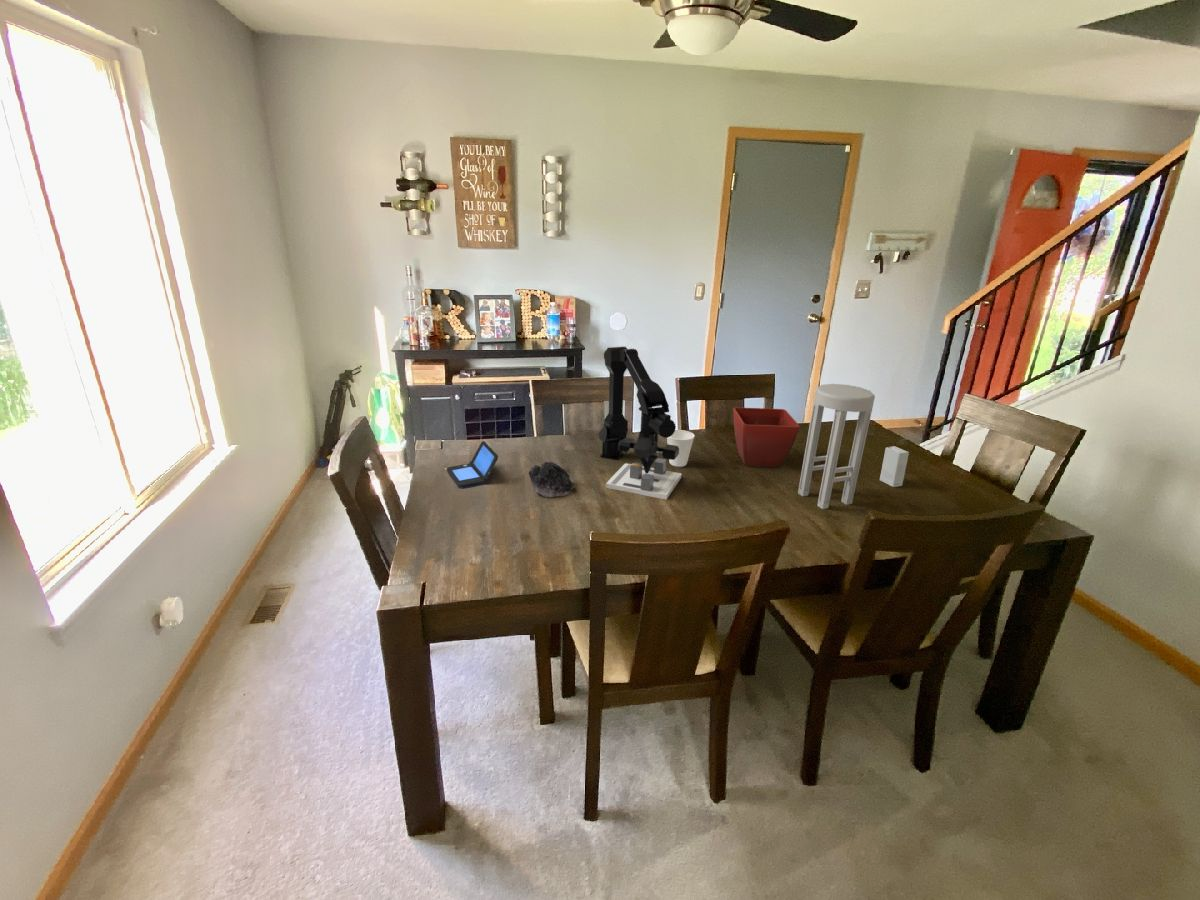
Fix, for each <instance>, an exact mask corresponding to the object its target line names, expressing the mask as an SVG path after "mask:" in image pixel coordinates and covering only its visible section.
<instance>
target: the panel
mask: <svg viewBox="0 0 1200 900" xmlns="http://www.w3.org/2000/svg"><path fill="white" fill-rule="evenodd" d="M632 464H633V463H624V464H623V465H622V466H621V467H620V468H619V469H618V470H617V471H616V472H615V473H614V474H613V475H612V477H611V478H609V480H608V481H607V482H606V483H605V488H606V489H612V490H616V491H621V492H627V493H631V494H636V495H641V496H645V497H646V496H647V497H651V498H657V499H662V500H668V498H669V497H670V495H671V493H672V492H673V491H674V489H675V488H676V487H677V485H678V483H679V481H681V479H682V473H681V472H675V471H670V470H666V471H665V472H664V473H663V475H662V474H657V473H654V467H651V468H650V471H649V473H645V470H644V467H643V465H642V476H643V475H644V474H650V475H654V483H653V488H652V489H651V490H650V491H645V490H641V478H642V476H641V477H640V478H639V479H634V478H630V466H631V465H632Z"/></svg>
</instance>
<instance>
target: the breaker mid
mask: <svg viewBox="0 0 1200 900" xmlns="http://www.w3.org/2000/svg"><path fill="white" fill-rule="evenodd" d="M631 464H632V465H631V466H630V478H634V479H639V478H640V477H641V476H642V466H643V464H642V463H639V462H632V463H631Z"/></svg>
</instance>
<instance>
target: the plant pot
mask: <svg viewBox="0 0 1200 900" xmlns="http://www.w3.org/2000/svg"><path fill="white" fill-rule="evenodd" d="M733 428H734V436H735V437H734V438H735V442H736V448H737V449H736V450H737V452H738V455H739V457H740V459H741V461H742V462H743V464H744V466H745V467H761V468H762V467H764V468H766V467H767V468H780V467H782V466H783V464H784V463H785V461H786V459H787V457H788V456H789V454H790V452H791V450H792V447H793V445H794V443H795V441H796V439H797V436H798V433H799V431H800V428H801V426H800V425H799V423H798V422H797V421H796V420H795V419H794V418H793V417H792V416H791V414H790V413H789V412H788V411H787V410H786V409H783V408H762V407H739V406H738V407H735V406H734V407H733Z"/></svg>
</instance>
